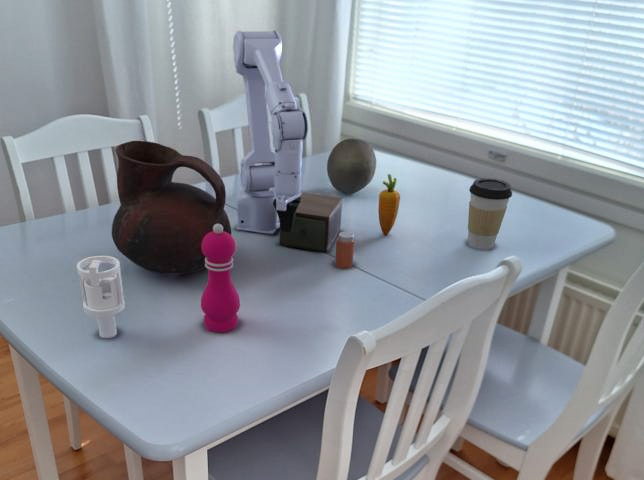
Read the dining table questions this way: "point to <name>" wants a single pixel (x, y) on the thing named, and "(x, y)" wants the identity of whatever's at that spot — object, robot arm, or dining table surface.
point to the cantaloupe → (351, 165)
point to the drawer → (306, 233)
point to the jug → (164, 209)
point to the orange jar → (344, 250)
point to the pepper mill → (219, 282)
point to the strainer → (102, 292)
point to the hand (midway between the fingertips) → (286, 230)
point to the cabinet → (321, 215)
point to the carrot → (388, 206)
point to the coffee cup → (486, 211)
